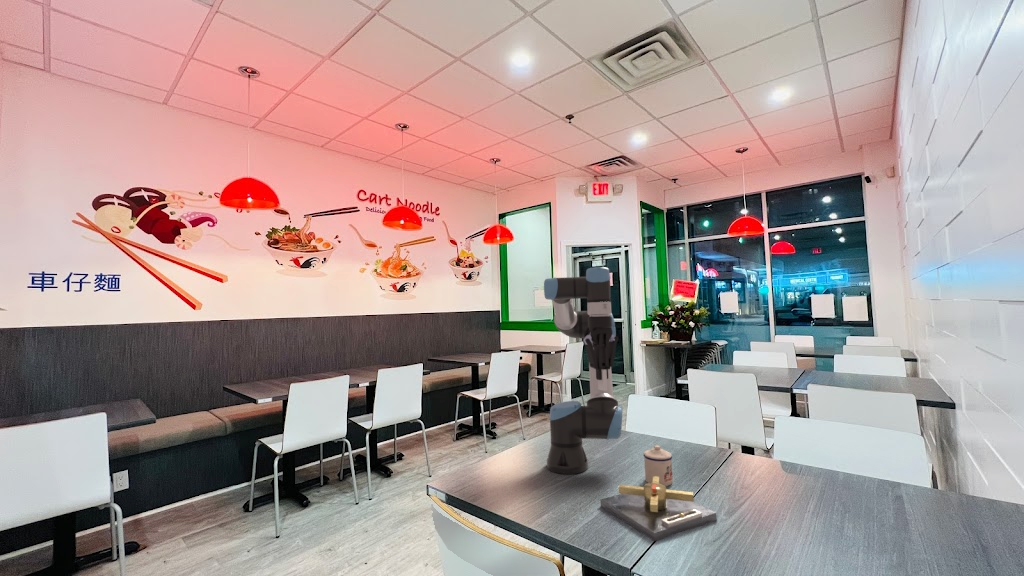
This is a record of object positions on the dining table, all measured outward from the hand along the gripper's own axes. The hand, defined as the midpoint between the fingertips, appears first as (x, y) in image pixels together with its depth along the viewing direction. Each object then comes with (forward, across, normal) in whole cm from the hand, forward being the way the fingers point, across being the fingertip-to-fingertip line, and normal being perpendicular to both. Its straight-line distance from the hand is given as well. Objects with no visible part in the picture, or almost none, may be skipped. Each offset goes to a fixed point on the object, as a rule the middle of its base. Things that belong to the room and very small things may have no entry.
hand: (602, 389), depth 138 cm
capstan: (+30, +4, -17) cm, 35 cm away
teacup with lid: (+33, +22, 0) cm, 39 cm away
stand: (+32, +4, -17) cm, 37 cm away
